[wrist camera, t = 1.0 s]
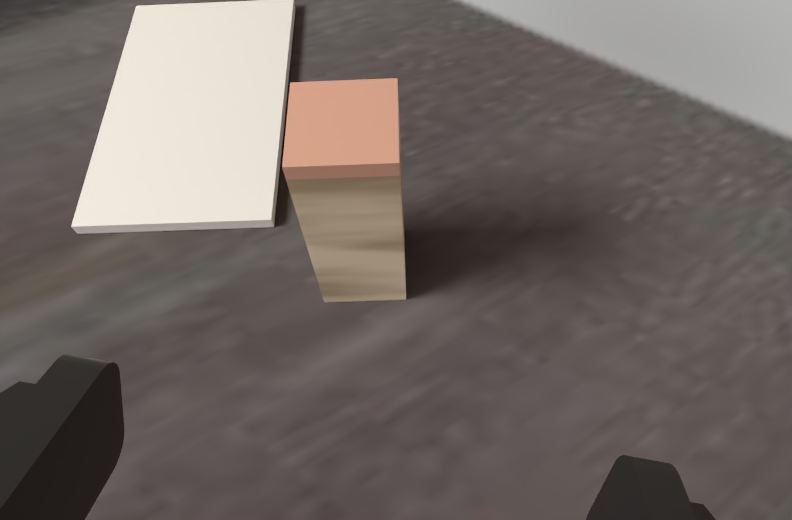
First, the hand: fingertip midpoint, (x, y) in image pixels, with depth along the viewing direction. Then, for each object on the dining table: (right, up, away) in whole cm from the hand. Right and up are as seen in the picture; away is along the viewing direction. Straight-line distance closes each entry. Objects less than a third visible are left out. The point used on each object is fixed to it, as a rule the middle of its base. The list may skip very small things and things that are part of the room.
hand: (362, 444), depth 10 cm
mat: (-13, +13, +32) cm, 37 cm away
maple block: (-1, +3, +26) cm, 26 cm away
